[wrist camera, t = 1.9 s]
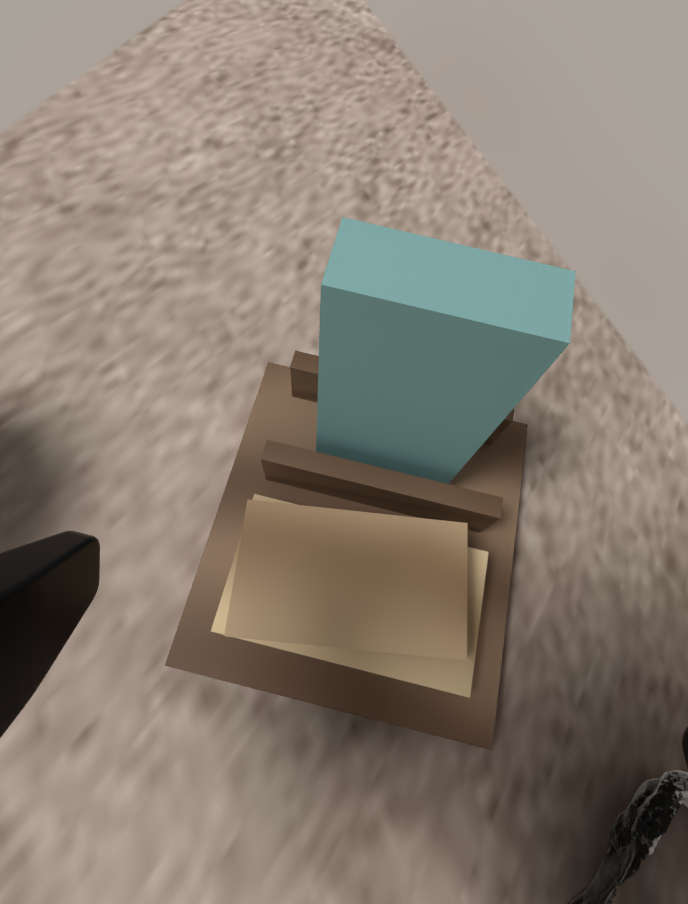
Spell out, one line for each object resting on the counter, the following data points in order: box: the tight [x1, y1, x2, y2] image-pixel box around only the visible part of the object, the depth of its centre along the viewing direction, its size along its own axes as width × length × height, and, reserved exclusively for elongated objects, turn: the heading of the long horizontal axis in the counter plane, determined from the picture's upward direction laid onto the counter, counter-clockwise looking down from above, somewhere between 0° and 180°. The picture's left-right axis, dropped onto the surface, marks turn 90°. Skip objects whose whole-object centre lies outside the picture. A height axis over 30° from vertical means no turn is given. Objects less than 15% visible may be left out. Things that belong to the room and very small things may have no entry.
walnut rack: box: [165, 351, 528, 750], centre depth 19 cm, size 13×12×4 cm
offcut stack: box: [211, 494, 489, 698], centre depth 18 cm, size 5×9×3 cm, turn 77°
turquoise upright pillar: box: [316, 217, 576, 484], centre depth 16 cm, size 2×6×11 cm, turn 77°
